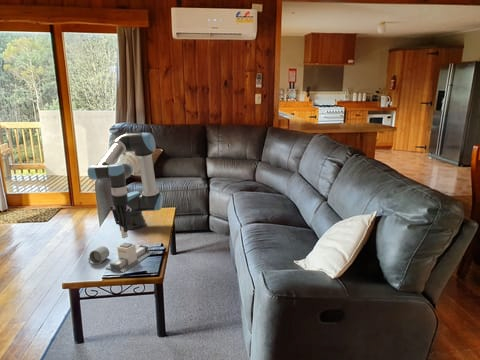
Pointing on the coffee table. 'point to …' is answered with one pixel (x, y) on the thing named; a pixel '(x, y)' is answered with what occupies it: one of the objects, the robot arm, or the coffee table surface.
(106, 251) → the ceramic mug
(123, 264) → the rail base
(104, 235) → the coffee table surface
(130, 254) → the module
